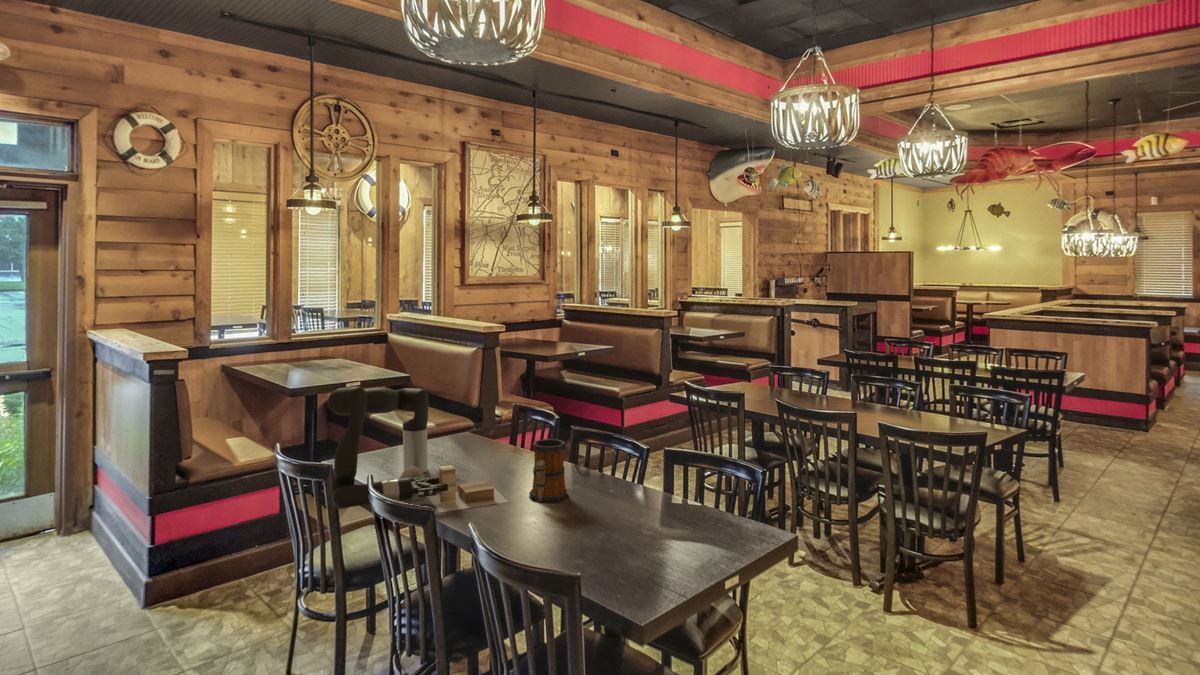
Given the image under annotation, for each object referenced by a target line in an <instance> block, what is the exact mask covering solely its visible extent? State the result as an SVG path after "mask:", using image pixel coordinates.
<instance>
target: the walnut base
mask: <svg viewBox="0 0 1200 675" xmlns="http://www.w3.org/2000/svg"><path fill="white" fill-rule="evenodd" d="M494 488H495V487H493V486H492V485H490V484H489V482H488V481H487V480H480V481H474V482H464V483H458V484H457V492H458V496H459V497H460V498H461V499H462V500H463V501H464V502H465V504H470V503H477V502H483V501H490V500H494Z"/></svg>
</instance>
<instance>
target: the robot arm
mask: <svg viewBox="0 0 1200 675" xmlns="http://www.w3.org/2000/svg"><path fill="white" fill-rule="evenodd" d="M429 403H430V401H429V394H428V392H427V390H426V389H423V388H416V387H415V388H412V387H411V388H410V387H405V388H401V389H396V390H395V389H392V388H388V387H374V388H367V389H366V388H365V389H364V388H363V387H361V386H350V387H340V388H336V389H335V390H333V391H331V393H330V394H329V397H328V399H327V405H328V408H329V410H330V411H331V412H332V413H333V414H335V415H337V416H350V417H349V423H348V425H347V428H346V431H345V432H344V435H343V436H342V438H341V440H340V441H339V444H338V445H337V447H336V451H335V454H334V465H333V483H332V489H331V503H332V505H333V506H334V507H335V508H337V509H340V510H344V509H348V508H351V507H352V508H353V507H358V506H363V505H371V504H370V502H369V499H368V494H369V491H368V483H364V484H360V483H359V484H355V480H356V479H355V478H356V476H357V472H358V469H357V468H358V456H359V446H360V442H361V441H360V440H361V436H362V432H363V427H364V424H365V423H364V422H365V418H366V414H388V413H392V412H393V411H394V410H395V411H397V410H398V411H402V412H410V413H413V414H414V415H413V417H412V418H410V419H407V420H405V421H403V423H402V446H403V447H402V450H403V451H402V452H403V471H405V470H406V469H407V468H409V467H414V466H415V467H418V468H420V469H421V470H422V472H423V474H425V473H426V472H428V471H429V470H428V468H429V467H428V463H429V462H428V457H429V456H428V420H429ZM371 483H372V485H373V487H374V488H375V489H376V490H377V491H379V492H380V493H382V494H384V495H386V496H388V497H390V498H392V499H394V500H397V501H398V502H405V501H410V500H413V499H412V498H413V495H417V497H418V498H424V497H427V496H433V495H437V493H439V492H442V491H447V490H448V485H447V484H442V485H439V476H437V477H428V476H426V475H424V477H418V478H415V477H413V478H412V477H411V478H409V477H405V478H400V477H399V478H390V479H385V480H381V481H374V482H371Z"/></svg>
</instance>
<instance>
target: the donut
mask: <svg viewBox="0 0 1200 675" xmlns="http://www.w3.org/2000/svg"><path fill="white" fill-rule="evenodd" d="M424 476H425V473H423V472H422V470H421V469H420V468H418V467H415V466H414V467H409V468H407V469H406V470H405V471H404V470H403V471H402V473H401V475H400V477H399V478H405V477H409V478H410V479H411V478H412V477H413V478H418V477H424Z"/></svg>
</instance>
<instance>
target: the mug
mask: <svg viewBox="0 0 1200 675" xmlns="http://www.w3.org/2000/svg"><path fill="white" fill-rule="evenodd" d="M531 446H532V448H533V451H534V466H533V473H532V474H533V478H532V479H533V480H532V488H531V489H530V491H529V496H528V499H529V500H530V501H532V503H538V504H547V505H548V504H556V505H558V504H557V503H560V504H563V503H562V502H564V501H566V500H567V501H569V500H570V495H569V493H568V489H567V488H566V479H565V466H564V450H565V449H566V448H567V446H566V444H565V441H563V440H562V439H556V438H543V439H538V440H535V441H533V443H532V445H531ZM568 499H569V500H568ZM567 501H566V502H567ZM564 503H565V502H564Z"/></svg>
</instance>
